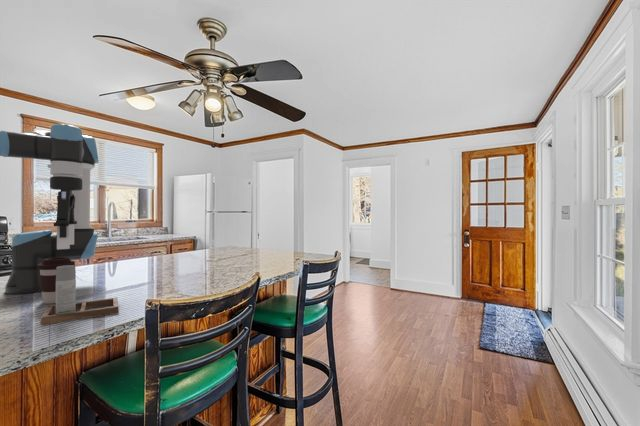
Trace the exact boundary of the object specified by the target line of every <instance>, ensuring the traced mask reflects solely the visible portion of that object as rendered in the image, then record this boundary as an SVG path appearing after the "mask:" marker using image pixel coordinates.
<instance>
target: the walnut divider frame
mask: <svg viewBox="0 0 640 426" xmlns="http://www.w3.org/2000/svg"><path fill="white" fill-rule="evenodd" d="M118 299H119V298H118V297H117V296H116V297H111V298H110V297H109V298H101V299H95V300H86V301H79V302H77V301H76V309H78V311H77V310H76V312H70V313H63V314H56V304H53V305H48V306H47V307H46V309H45V311H44V312H43V314H42V315H41V317H40V326H42V325H43V326H44V325H49V324H55V323H56V324H57V323H62V322H68V321H76V320H82V318H83V319H88V318H93V317H94V318H95V317H101V316H107V315H109V316H110V315H114V314H119V300H118ZM104 306H105V307H104ZM106 306H108V307H106ZM96 307H97V308H96ZM98 307H100V308H98ZM90 308H91V309H90ZM92 308H93V309H92ZM54 313H55V314H54Z"/></svg>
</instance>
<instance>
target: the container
mask: <svg viewBox="0 0 640 426" xmlns="http://www.w3.org/2000/svg"><path fill="white" fill-rule="evenodd" d="M76 273H77V271H76V264H75V265H65V266H58V267H56V303H55V305H56V313H55V315H56V314H63V313H70V312H77V310H76V303H77V297H76V296H77V295H76V294H77V293H76V292H77V285H76V284H77V277H76Z"/></svg>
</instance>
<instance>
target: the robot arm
mask: <svg viewBox="0 0 640 426" xmlns="http://www.w3.org/2000/svg"><path fill="white" fill-rule="evenodd" d="M0 157H3V158H18V159H20V158H21V159H32V160H42V161H49V162H50V164H47V168H49V169H50V175H51V176H50V178H49V189H51V190H53V191H55V190H56V191H58V192H57V196H56V199H57V205H56V206H57V209H56V210H57V211H56V219H55V222H53V227H56V232H54V231H53V230H52V229H43V230H42V229H41V230H34V231H26V232H21V233H19V232H18V233H16V234H14V235H13V237H12V238H11V239H12V240H11V241H12V242H11V273H10V275H9V277H8V280H7V282H6V284H5V287H4V289H5V290H4V293H6V294H9V295H14V294H15V295H16V294H17V295H20V294H31V293H37V292H41V288H40V277H39V275H40V270H39V269H37V265H38V264H40V263H42V262H43V260H44V259H47V258H55V257H68V258H70V260H71V261H79V260H80V261H82V260H89V259H92V258H94V256H95V253H96V248H97V242H98V237H99V232H97V231H95V227H94V226H92V225H91V170H93V169H94V168H95V167H96V165H95V164H98V163H99V154H98V147H97V142H96V138H94V137H93V136H89V135H84V134H83V130H82V129H81V128H80V127H78V126H76V125H75V126H74V125H70V124H64V123H55V124H52V125H51V126H50V130H28V131H24V132H15V131H6V130H0Z"/></svg>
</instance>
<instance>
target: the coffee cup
mask: <svg viewBox="0 0 640 426" xmlns="http://www.w3.org/2000/svg"><path fill="white" fill-rule="evenodd" d="M65 265H75V266H76V261H75V260H70V258H68V257H55V258H47V259H44V260H43V262H42V263H40V264H38V265H37V269H39V270H40V275H39V277H40V288H41V291H40V292H41V298H42V299H41V301H42V303H43V304H47V305H49V304H50V305H51V304H53V305H54V304H56V267H58V266H65Z"/></svg>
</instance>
